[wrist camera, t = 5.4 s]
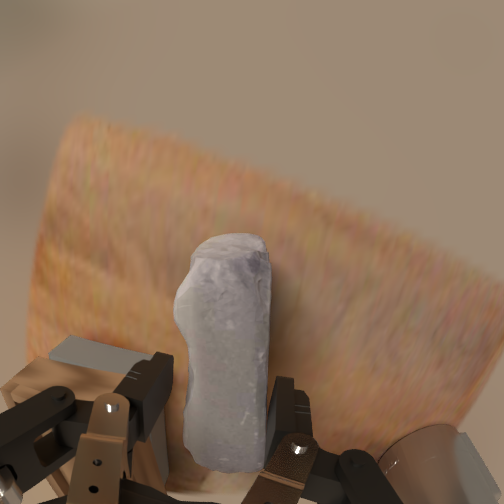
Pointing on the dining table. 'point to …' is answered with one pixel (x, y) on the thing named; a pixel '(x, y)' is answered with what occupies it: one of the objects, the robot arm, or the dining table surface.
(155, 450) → the base slab
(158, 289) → the dining table surface
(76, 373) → the tan open box
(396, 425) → the dining table surface
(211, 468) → the stone block
